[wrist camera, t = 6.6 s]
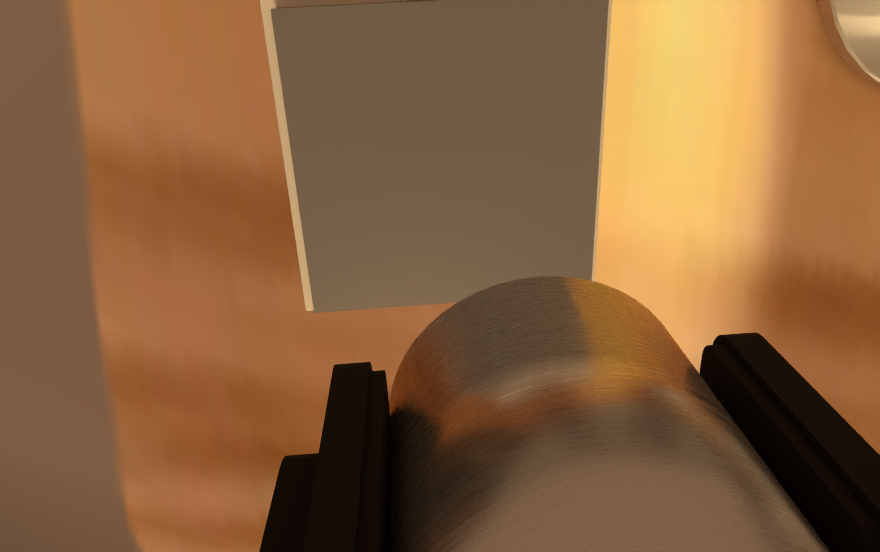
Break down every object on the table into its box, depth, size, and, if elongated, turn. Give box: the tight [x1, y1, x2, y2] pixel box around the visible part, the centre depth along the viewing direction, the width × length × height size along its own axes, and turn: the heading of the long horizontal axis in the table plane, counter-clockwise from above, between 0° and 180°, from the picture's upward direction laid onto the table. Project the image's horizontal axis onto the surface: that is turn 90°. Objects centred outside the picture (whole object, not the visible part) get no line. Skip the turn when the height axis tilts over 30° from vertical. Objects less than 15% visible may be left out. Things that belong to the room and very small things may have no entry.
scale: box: [260, 0, 612, 313], centre depth 24 cm, size 12×16×4 cm
